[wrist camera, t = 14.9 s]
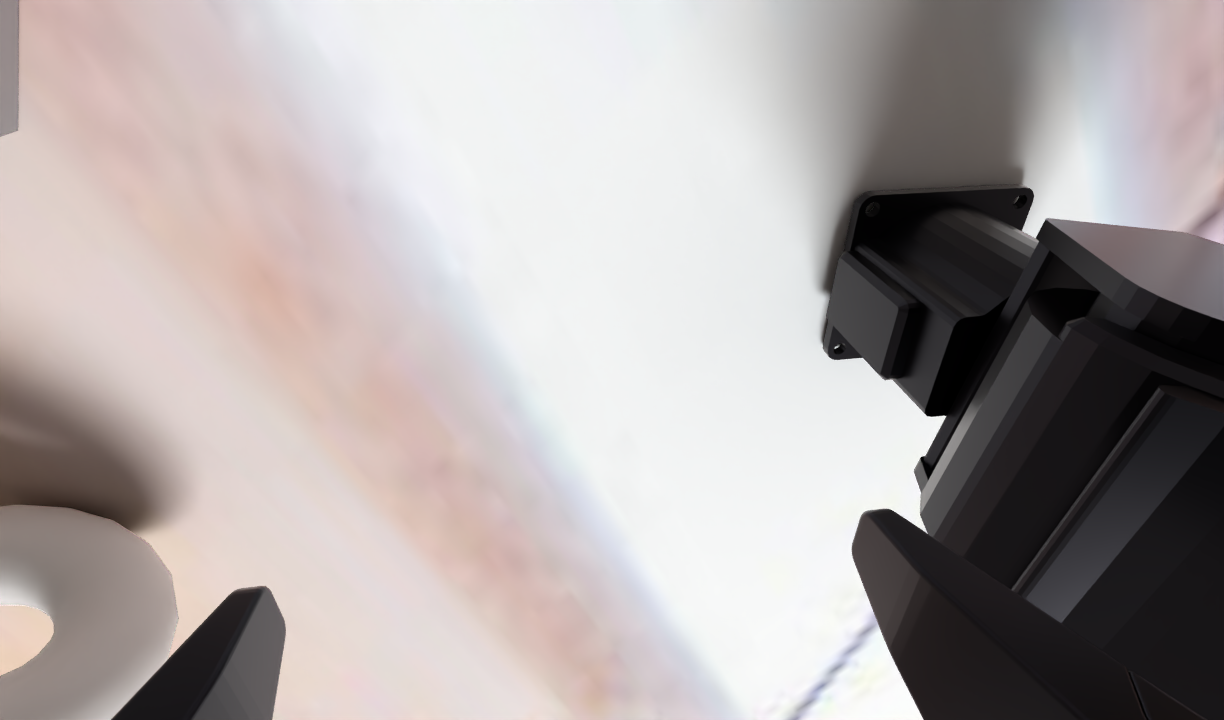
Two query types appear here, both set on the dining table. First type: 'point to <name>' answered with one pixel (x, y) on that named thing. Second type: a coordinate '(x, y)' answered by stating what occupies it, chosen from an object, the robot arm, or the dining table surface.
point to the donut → (83, 612)
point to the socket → (8, 66)
